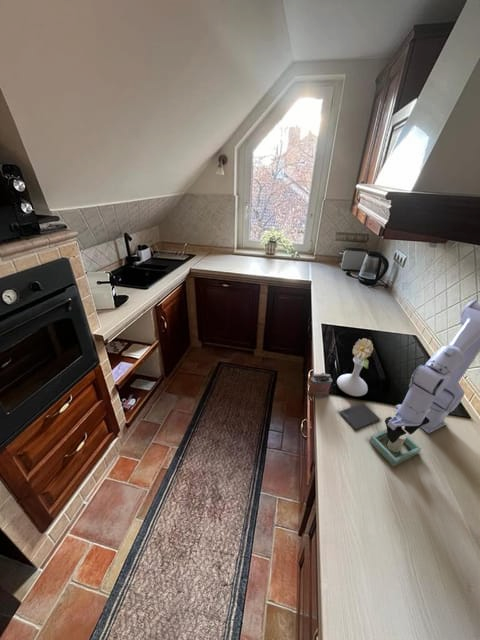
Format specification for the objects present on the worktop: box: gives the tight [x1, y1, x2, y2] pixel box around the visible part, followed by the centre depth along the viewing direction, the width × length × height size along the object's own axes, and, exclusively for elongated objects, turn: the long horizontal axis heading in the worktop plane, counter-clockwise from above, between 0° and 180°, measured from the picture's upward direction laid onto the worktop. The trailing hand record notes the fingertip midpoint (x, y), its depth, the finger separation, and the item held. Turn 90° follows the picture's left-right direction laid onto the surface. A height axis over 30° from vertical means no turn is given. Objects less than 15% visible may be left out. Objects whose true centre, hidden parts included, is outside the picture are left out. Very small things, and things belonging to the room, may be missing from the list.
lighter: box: [307, 372, 333, 398], centre depth 95 cm, size 8×3×10 cm, turn 92°
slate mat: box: [339, 402, 381, 431], centre depth 89 cm, size 11×8×1 cm
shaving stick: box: [386, 433, 408, 453], centre depth 78 cm, size 3×3×6 cm
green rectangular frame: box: [369, 429, 422, 467], centre depth 79 cm, size 11×9×2 cm
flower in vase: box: [336, 337, 374, 397], centre depth 94 cm, size 13×11×25 cm
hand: (399, 435), depth 76 cm, fingers open, 7 cm apart
